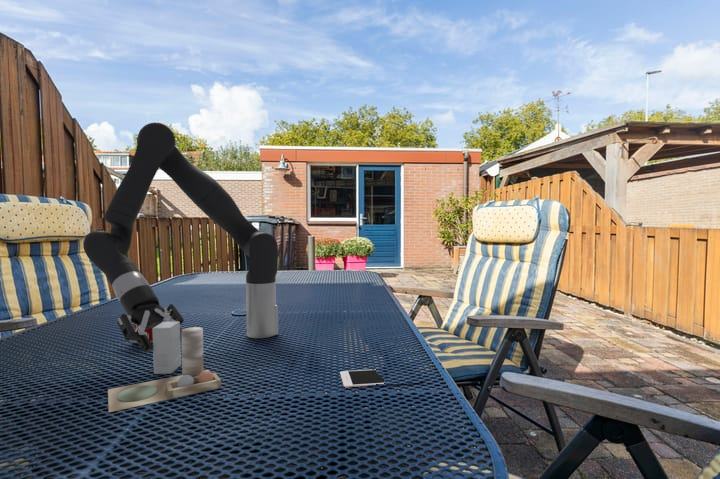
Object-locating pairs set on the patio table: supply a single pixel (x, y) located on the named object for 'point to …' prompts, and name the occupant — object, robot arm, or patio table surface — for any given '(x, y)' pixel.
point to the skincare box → (166, 347)
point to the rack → (168, 386)
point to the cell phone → (360, 378)
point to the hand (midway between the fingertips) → (166, 345)
